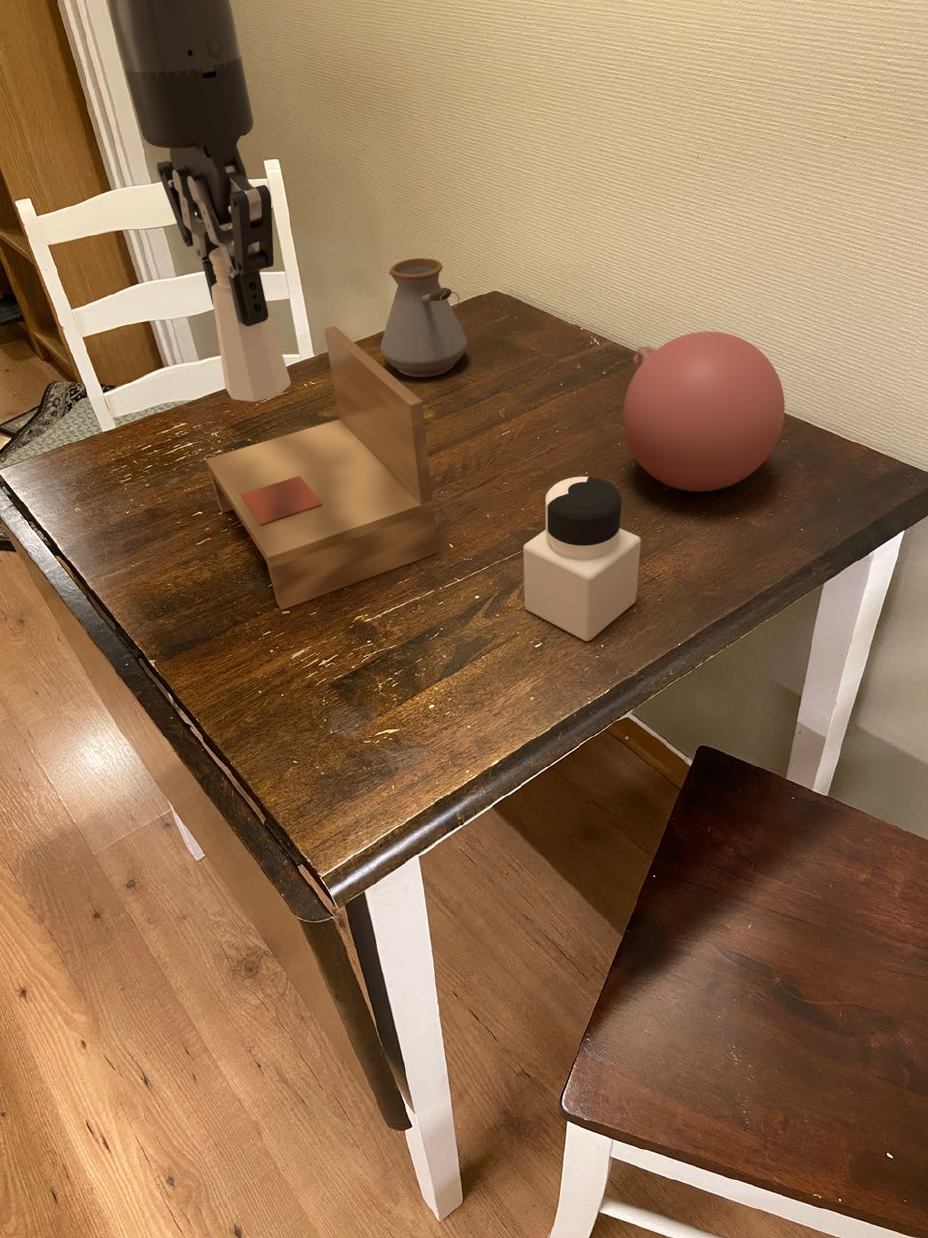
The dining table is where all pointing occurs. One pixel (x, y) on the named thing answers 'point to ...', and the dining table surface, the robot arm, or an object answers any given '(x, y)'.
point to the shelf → (337, 485)
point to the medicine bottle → (581, 559)
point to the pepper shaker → (245, 345)
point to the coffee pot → (422, 322)
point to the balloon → (703, 410)
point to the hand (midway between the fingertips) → (241, 313)
